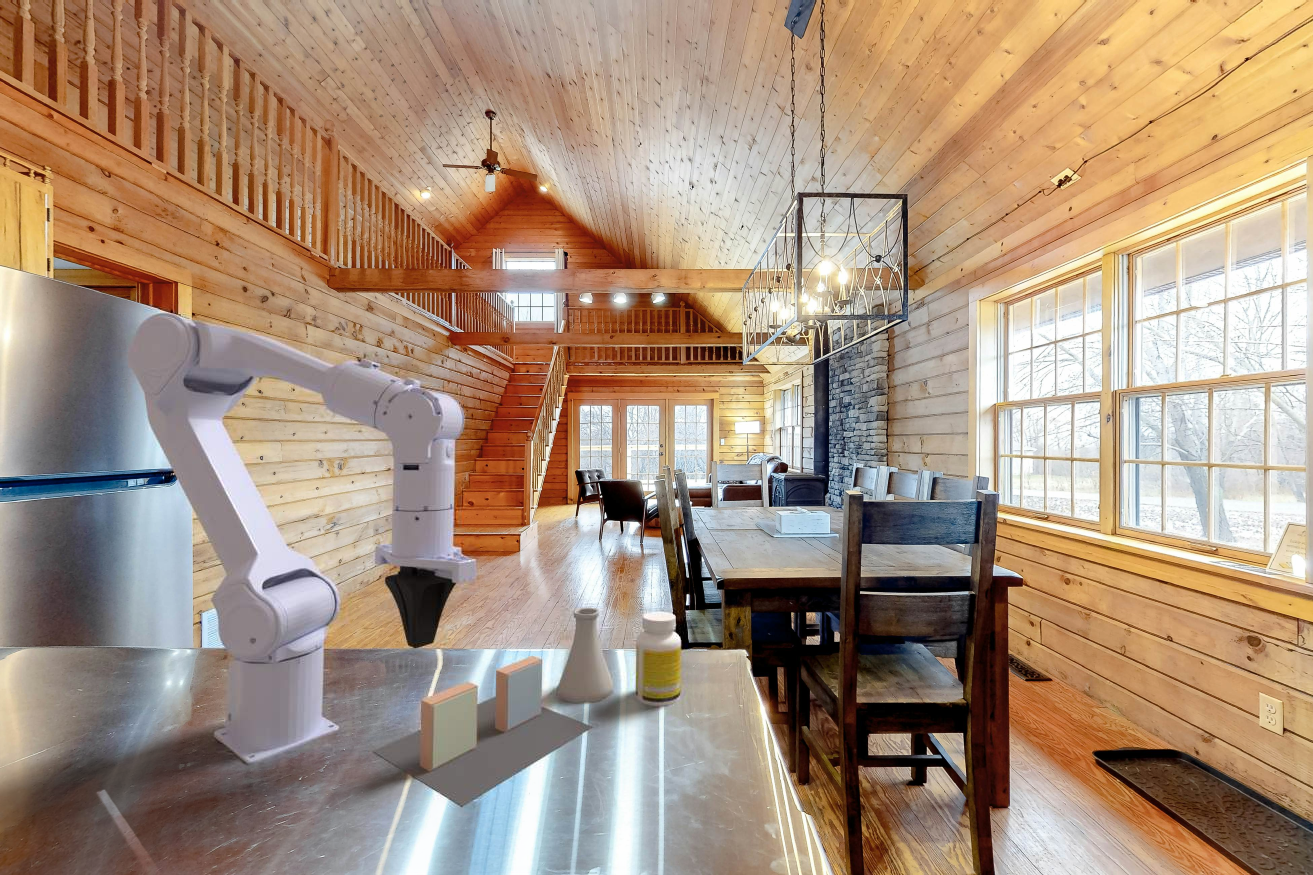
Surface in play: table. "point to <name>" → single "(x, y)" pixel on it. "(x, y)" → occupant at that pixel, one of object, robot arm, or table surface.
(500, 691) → the tile
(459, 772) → the mat
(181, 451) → the robot arm
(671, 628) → the supplement bottle
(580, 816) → the table surface
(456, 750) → the tile
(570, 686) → the flask
